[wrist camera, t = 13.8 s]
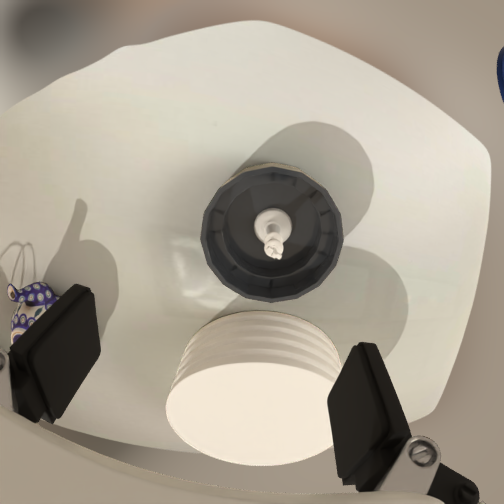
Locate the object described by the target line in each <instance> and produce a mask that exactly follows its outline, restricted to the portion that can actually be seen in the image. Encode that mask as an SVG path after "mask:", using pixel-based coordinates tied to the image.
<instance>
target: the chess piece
mask: <svg viewBox="0 0 504 504" xmlns="http://www.w3.org/2000/svg"><path fill="white" fill-rule="evenodd" d="M254 231H255V234H256V236H257V237H258V239H259V240H260V241H261V242H263V243H264V244H265V246H264V250H265V253H266V254H267V255H268V256H270V257H273V258H274V259H275V258H277V259H279V260H280V259H281V257H282V255H281V254H282V252H283V242H285V241H286V240H287V239H288V238H289V236H290V234H291V231H292V222H291V219H290V217H289V216H288V214H287V213H286V212H284V211H283V210H281V209H278V208H269V209H265V210H263V211H262V212H260V213H259V214H258V216H257V217H256V219H255V222H254Z"/></svg>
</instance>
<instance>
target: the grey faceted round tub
mask: <svg viewBox="0 0 504 504" xmlns="http://www.w3.org/2000/svg"><path fill="white" fill-rule="evenodd" d="M269 208H278V209H281V210H283V211H284V212H286V213H287V214H288V216H289V217H290V219H291V222H292V231H291V234H290V236H289V238H288V239H287V240H286V241H285V242H283V252H282V254H281V255H282V257H281V259H280V260H279V259H277V258H275V259H274V258H273V257H270V256H268V255H267V254H266V253H265V250H264V246H265V244H264V243H263V242H261V241H260V240H259V239H258V237H257V236H256V234H255V231H254V222H255V219H256V217H257V216H258V214H259V213H260V212H262V211H263V210H265V209H269ZM200 240H201V243H202V247H203V251H204V254H205V258H206V261H207V264H208V266H209V267H210V268H211V270H212V271H213V272H214V274H215V275H216V276H217V277H218V279H219V280H220V281H221V282H222V284H223V285H225V286H226V287H228V288H230V289H231V290H233V291H235V292H236V293H238V294H240V295H241V296H243V297H245V298H248V299H253V300H259V301H264V302H269V303H273V302H279V301H285V300H291V299H297V298H299V297H301V296H302V295H304V294H306V293H308V292H309V291H311V290H313V289H315V288H317V287H318V286H320V285H321V283H322V282H323V281H324V280H325V279H326V277H327V276H328V275H329V274H330V273H331V271H332V270H333V269H334V268H335V266H336V264H337V261H338V258H339V255H340V251H341V248H342V245H343V241H344V239H343V229H342V221H341V214H340V212H339V210H338V208H337V207H336V205H335V203H334V202H333V200H332V198H331V196H330V195H329V193H328V191H327V190H326V189H325V188H324V187H323V186H322V185H321V184H320V183H319V182H317V181H316V180H315V179H313V178H312V177H310V176H309V175H308V174H306V173H305V172H303V171H302V170H300V169H299V168H297V167H292V166H288V165H283V164H278V163H274V162H271V163H266V164H260V165H255V166H250V167H247V168H245V169H243V170H242V171H240V172H239V173H237V174H236V175H234V176H233V177H232V178H230V179H229V180H227V181H226V182H225V183H224V184H223V185H222V186H221V187H220V188H219V189H218V191H217V192H216V194H215V196H214V197H213V199H212V200H211V202H210V204H209V205H208V207H207V208H206V210H205V212H204V216H203V223H202V230H201V238H200Z"/></svg>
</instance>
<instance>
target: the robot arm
mask: <svg viewBox="0 0 504 504" xmlns="http://www.w3.org/2000/svg"><path fill="white" fill-rule="evenodd" d="M10 350H11V351H10V352H9V353H8V354H7V353H6V352H5V351H4V350H3V349H1V348H0V504H486V503H485V502H484V501H481V502H480V503H479V491H478V488H477V486H476V485H475V483H473V482H472V481H471V480H469V479H467V478H465V477H464V476H462V475H460V474H459V473H457V472H455V471H453V470H452V469H450V468H448V467H447V466H445V465H443V464H442V463H440V461H441V452H440V449H439V447H438V445H437V444H436V443H435V442H434V441H433V440H431V439H430V438H428V437H425V436H414V437H412V435H411V433H410V429H409V426H408V423H407V420H406V418H405V415H404V412H403V410H402V407H401V404H400V402H399V399H398V397H397V394H396V391H395V389H394V386H393V384H392V381H391V379H390V376H389V374H388V372H387V369H386V367H385V364H384V362H383V360H382V357H381V355H380V352H379V350H378V348H377V346H376V344H374V343H366V342H359V343H358V345H357V346H356V345H355V346H353V348H352V349H351V351H350V354H349V356H348V358H347V360H346V362H345V364H344V366H343V368H342V370H341V372H340V374H339V376H338V378H337V380H336V381H335V383H334V385H333V387H332V389H331V391H330V393H329V395H328V398H327V406H328V412H329V419H330V425H331V432H332V438H333V445H334V451H335V459H336V465H337V474H338V477H339V478H342V481H343V485H356V490H357V491H356V493H338V494H291V493H272V492H259V491H250V490H241V489H234V488H227V487H220V486H214V485H208V484H203V483H198V482H193V481H188V480H184V479H179V478H175V477H171V476H167V475H163V474H160V473H156V472H152V471H149V470H146V469H142V468H139V467H136V466H133V465H129V464H127V463H124V462H121V461H118V460H115V459H112V458H110V457H107V456H104V455H102V454H99V453H97V452H94V451H92V450H89V449H87V448H85V447H82V446H80V445H78V444H76V443H73V442H71V441H69V440H67V439H65V438H63V437H61V436H58V435H56V434H54V433H52V432H50V431H48V430H46V429H44V428H42V427H41V426H39V425H38V422H39V420H40V419H43V420H45V421H47V422H49V423H51V424H53V423H54V422H55V420H56V418H57V419H59V418H61V416H62V415H63V413H64V411H65V410H66V408H67V406H68V405H69V403H70V402H71V400H72V398H73V397H74V395H75V393H76V392H77V390H78V389H79V387H80V385H81V384H82V382H83V381H84V379H85V378H86V376H87V374H88V373H89V371H90V370H91V368H92V367H93V365H94V364H95V362H96V361H97V359H98V358H99V356H100V352H101V347H100V340H99V333H98V325H97V317H96V308H95V298H94V294H93V293H92V292H91V290H90V288H89V287H85V286H82V285H79V284H74V285H73V286H72V287H71V288H70V289H68V290H67V291H66V292H65V293H64V294H63V295H62V296H61V297H60V298H59V299H58V300H57V301H56V302H54V303H53V304H52V305H51V306H50V307H49V308H48V309H47V310H46V311H45V312H44V313H43V314H42V315H41V316H40V317H39V318H38V319H37V320H36V321H35V322H34V323H33V324H32V325H31V326H30V327H29V328H28V329H27V330H26V331H25V332H24V333H23V334H22V335H21V336H20V337H19V338H18V339H17V340H16V341H15V342H14V343H13V344H12V346H11V347H10Z"/></svg>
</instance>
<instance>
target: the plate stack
mask: <svg viewBox="0 0 504 504" xmlns="http://www.w3.org/2000/svg"><path fill="white" fill-rule="evenodd" d="M341 370H342V366H341V363H340V358H339V355H338V352H337V349H336V347H335V346H334V344H333V342H332V341H331V340H330V338H329V337H328V336H327V335H326V334H325V333H324V332H323V331H321V330H320V329H319V328H317V327H316V326H314V325H313V324H311V323H309V322H307V321H305V320H303V319H300V318H298V317H295V316H292V315H288V314H284V313H278V312H271V311H248V312H240V313H235V314H231V315H227V316H224V317H221V318H219V319H217V320H214V321H212V322H210V323H209V324H207V325H205V326H204V327H203V328H201V329H200V330H199V331H198V332H197V333H196V334H195V335H194V336H193V337H192V338H191V339H190V341H189V342H188V344H187V346H186V348H185V351H184V353H183V356H182V359H181V361H180V364H179V367H178V370H177V373H176V375H175V379H174V381H173V384H172V387H171V390H170V392H169V395H168V398H167V401H166V415H167V418H168V421H169V423H170V425H171V427H172V428H173V430H174V431H175V432H176V433H177V434H178V436H179V437H180V438H181V439H183V440H184V441H185V442H186V443H188V444H189V445H190V446H192V447H193V448H195V449H197V450H199V451H200V452H202V453H204V454H207V455H209V456H212V457H214V458H217V459H220V460H224V461H227V462H232V463H237V464H243V465H254V466H256V465H257V466H269V465H281V464H287V463H292V462H297V461H300V460H304V459H307V458H309V457H312V456H314V455H316V454H319V453H321V452H322V451H324V450H326V449H328V448H329V447H331V446H332V445H333V438H332V432H331V425H330V419H329V412H328V406H327V398H328V395H329V393H330V391H331V389H332V387H333V385H334V383H335V381H336V380H337V378H338V376H339V374H340V372H341Z"/></svg>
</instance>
